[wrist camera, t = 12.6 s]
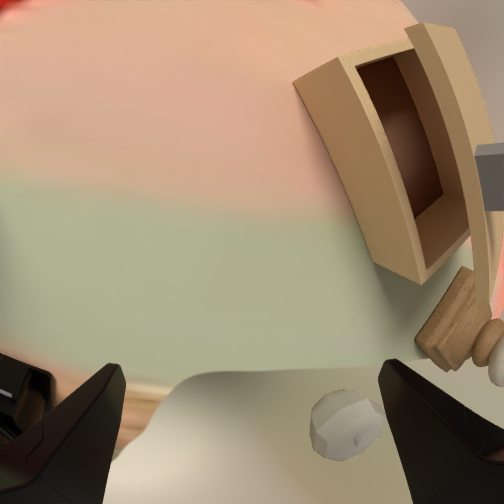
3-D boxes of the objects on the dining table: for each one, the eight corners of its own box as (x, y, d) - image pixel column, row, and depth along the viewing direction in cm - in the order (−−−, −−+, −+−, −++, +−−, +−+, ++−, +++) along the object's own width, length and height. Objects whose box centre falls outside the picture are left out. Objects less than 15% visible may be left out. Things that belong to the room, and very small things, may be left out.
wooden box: (372, 261, 25) (421, 285, 19) (292, 81, 19) (337, 57, 13) (448, 197, 26) (494, 207, 20) (394, 47, 20) (442, 31, 14)
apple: (283, 430, 27) (308, 475, 21) (314, 373, 26) (350, 417, 20) (340, 426, 30) (368, 462, 24) (371, 374, 29) (408, 409, 23)
